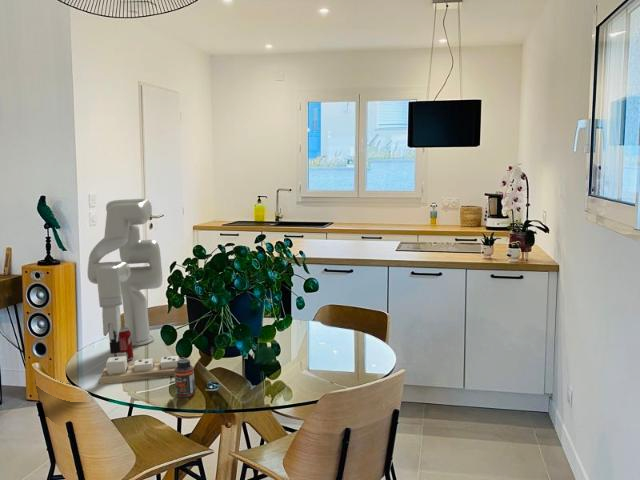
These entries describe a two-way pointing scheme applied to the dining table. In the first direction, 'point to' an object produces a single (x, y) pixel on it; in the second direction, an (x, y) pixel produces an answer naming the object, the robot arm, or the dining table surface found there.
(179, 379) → the supplement bottle
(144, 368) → the tile
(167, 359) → the tile
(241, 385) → the dining table surface
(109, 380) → the board
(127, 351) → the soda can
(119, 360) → the tile
